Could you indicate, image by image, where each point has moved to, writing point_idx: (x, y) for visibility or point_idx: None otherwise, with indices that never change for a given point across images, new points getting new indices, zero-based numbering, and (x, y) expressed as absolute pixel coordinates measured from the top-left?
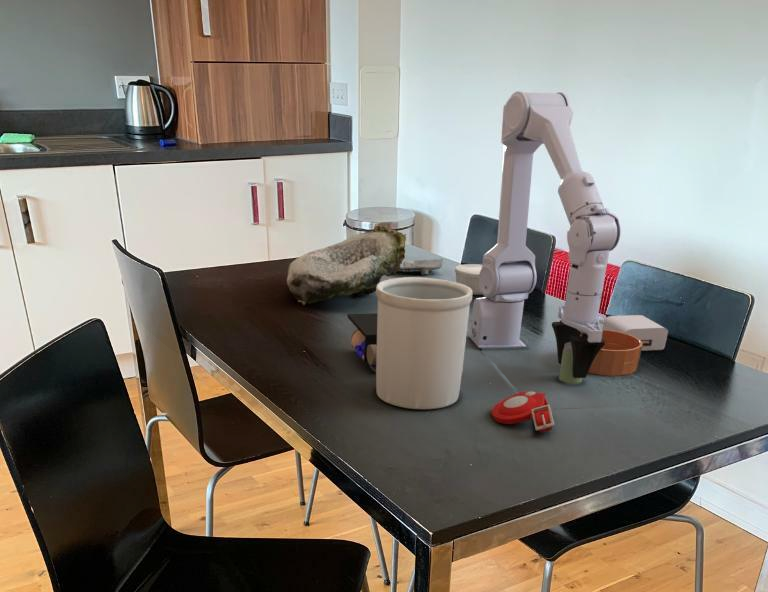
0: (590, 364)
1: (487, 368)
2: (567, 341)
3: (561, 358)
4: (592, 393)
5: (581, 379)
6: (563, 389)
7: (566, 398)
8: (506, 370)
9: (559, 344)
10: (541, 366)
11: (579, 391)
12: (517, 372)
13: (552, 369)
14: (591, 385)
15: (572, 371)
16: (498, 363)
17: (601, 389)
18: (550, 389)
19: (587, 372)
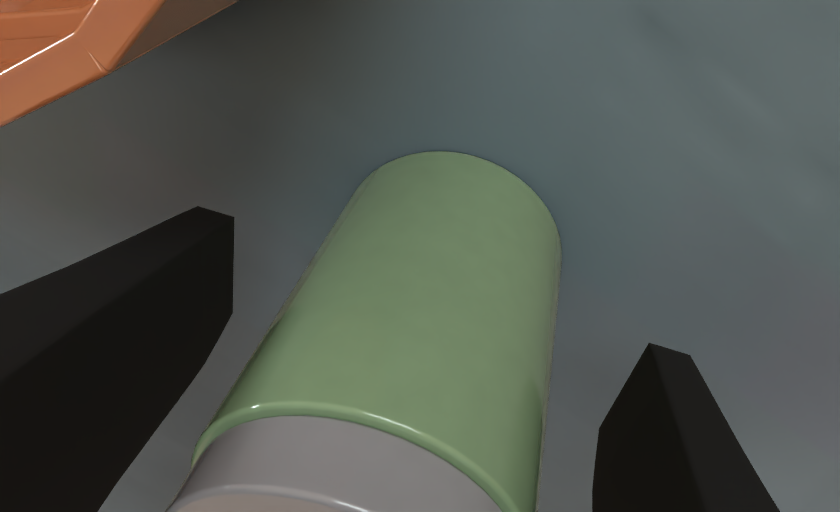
0: (766, 506)
1: (124, 500)
2: (51, 480)
3: (202, 348)
4: (823, 266)
5: (545, 236)
6: (592, 399)
7: (766, 489)
8: (156, 452)
9: (96, 509)
10: (64, 230)
11: (702, 330)
12: (193, 428)
13: (133, 194)
14: (629, 127)
15: (596, 489)
16: None
17: (796, 102)
18: (549, 461)
19: (714, 402)
